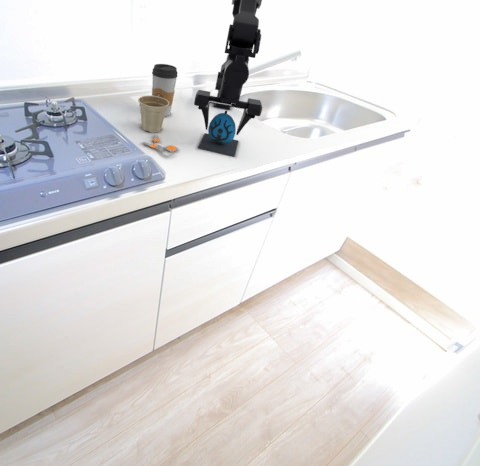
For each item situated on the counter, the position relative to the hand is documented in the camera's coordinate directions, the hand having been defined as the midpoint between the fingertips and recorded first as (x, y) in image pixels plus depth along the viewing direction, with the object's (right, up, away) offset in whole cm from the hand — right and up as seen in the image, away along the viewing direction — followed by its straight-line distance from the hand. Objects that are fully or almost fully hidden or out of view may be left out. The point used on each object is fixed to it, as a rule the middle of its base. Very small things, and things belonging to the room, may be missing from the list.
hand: (221, 131), depth 98 cm
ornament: (0, -3, +3) cm, 4 cm away
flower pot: (-21, +3, +6) cm, 22 cm away
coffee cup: (-19, +12, +17) cm, 28 cm away
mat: (0, -3, +3) cm, 4 cm away
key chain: (-18, -5, -3) cm, 19 cm away
